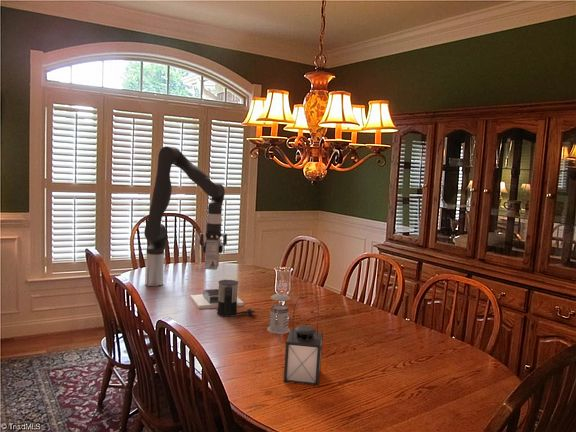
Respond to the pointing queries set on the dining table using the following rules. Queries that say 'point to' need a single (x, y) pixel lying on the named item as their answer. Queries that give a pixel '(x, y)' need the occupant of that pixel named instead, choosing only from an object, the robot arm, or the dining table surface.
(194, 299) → the base board
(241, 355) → the dining table surface
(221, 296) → the milk frother
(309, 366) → the lantern
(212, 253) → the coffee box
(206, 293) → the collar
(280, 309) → the glass oil lamp
